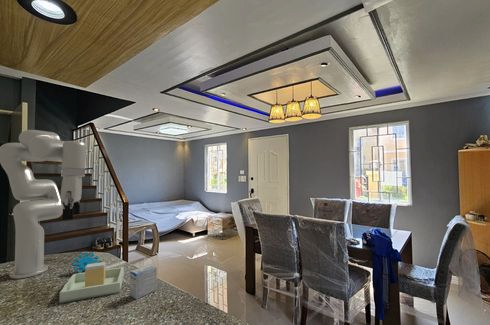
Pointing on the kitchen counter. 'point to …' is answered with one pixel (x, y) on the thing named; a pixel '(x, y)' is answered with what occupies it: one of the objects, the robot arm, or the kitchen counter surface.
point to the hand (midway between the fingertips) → (71, 216)
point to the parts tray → (78, 290)
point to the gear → (85, 261)
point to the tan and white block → (95, 274)
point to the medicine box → (143, 281)
